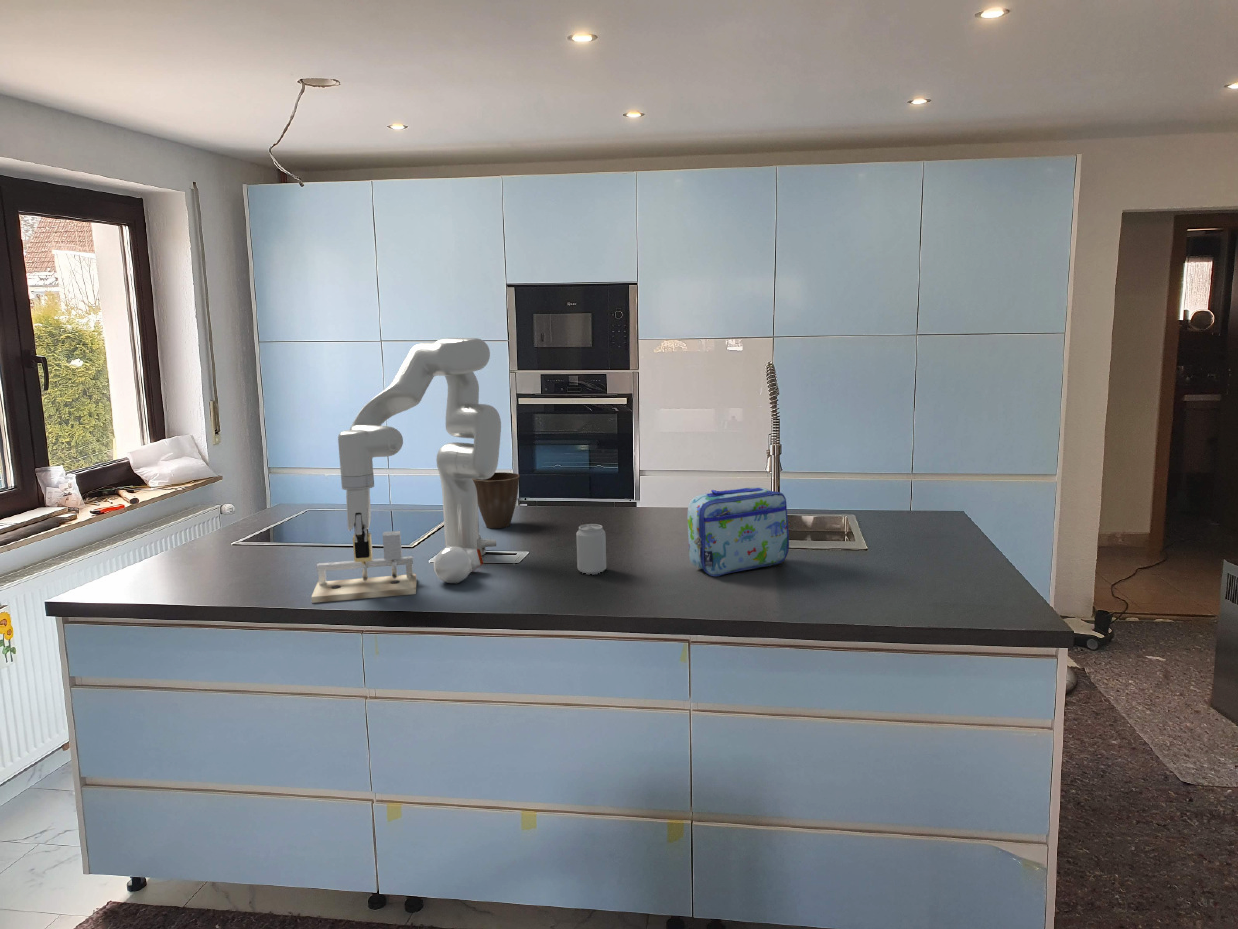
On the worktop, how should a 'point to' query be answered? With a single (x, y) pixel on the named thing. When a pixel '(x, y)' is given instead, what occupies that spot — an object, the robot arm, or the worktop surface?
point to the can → (591, 549)
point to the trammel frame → (390, 559)
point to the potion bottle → (456, 563)
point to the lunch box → (737, 530)
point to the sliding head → (363, 560)
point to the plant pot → (497, 498)
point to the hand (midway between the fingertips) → (363, 554)
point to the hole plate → (364, 588)
